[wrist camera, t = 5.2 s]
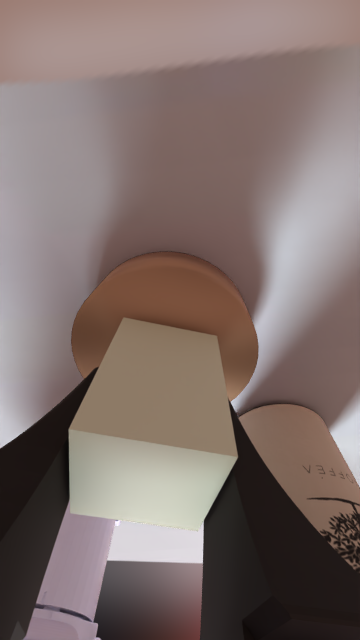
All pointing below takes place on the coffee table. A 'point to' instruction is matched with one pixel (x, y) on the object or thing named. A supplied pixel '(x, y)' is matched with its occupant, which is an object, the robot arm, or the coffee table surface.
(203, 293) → the coaster stand
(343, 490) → the travel mug
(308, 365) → the coffee table surface
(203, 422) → the block
